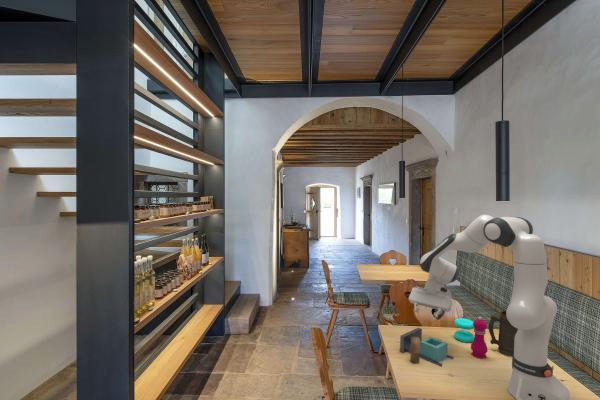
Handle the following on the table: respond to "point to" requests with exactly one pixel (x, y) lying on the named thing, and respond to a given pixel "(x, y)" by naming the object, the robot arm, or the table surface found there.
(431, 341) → the socket block
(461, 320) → the donuts
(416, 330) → the track
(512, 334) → the beer stein
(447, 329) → the table surface
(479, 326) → the pepper mill
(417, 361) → the dowel
